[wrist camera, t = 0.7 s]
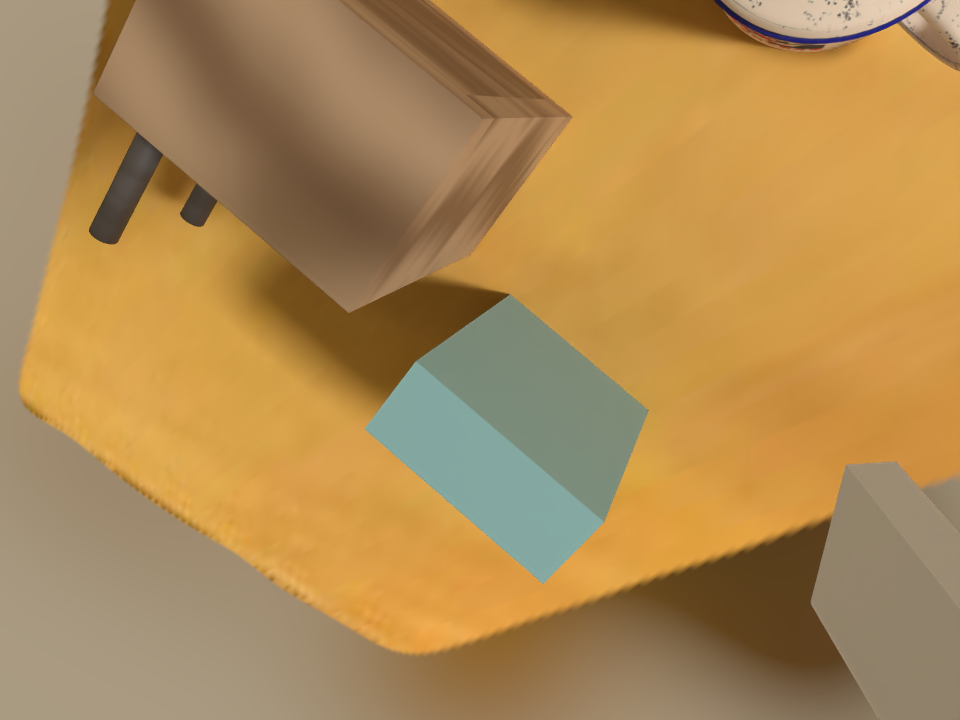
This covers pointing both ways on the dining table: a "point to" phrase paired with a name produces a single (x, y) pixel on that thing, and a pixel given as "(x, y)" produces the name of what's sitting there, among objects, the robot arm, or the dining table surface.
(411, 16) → the cabinet
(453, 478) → the door
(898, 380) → the dining table surface
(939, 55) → the teacup with lid
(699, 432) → the dining table surface
